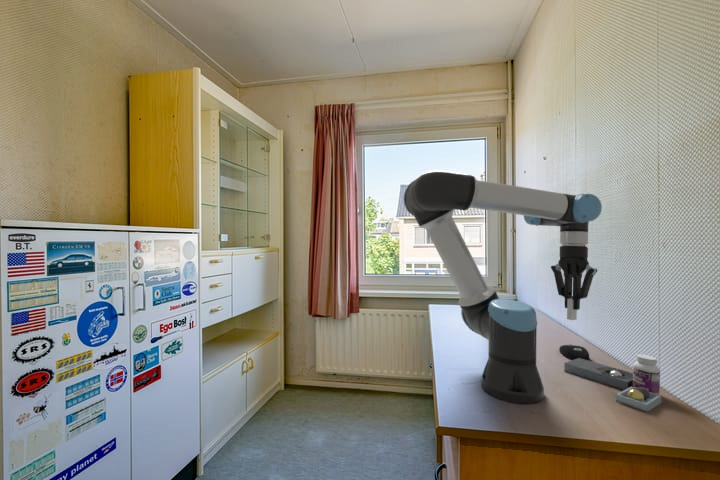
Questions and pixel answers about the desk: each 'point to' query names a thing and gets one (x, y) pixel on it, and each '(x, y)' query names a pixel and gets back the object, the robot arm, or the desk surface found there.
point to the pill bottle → (646, 374)
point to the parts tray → (644, 406)
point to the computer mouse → (574, 352)
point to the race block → (599, 373)
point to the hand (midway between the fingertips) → (571, 319)
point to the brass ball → (635, 395)
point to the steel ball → (615, 373)
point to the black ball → (643, 392)
